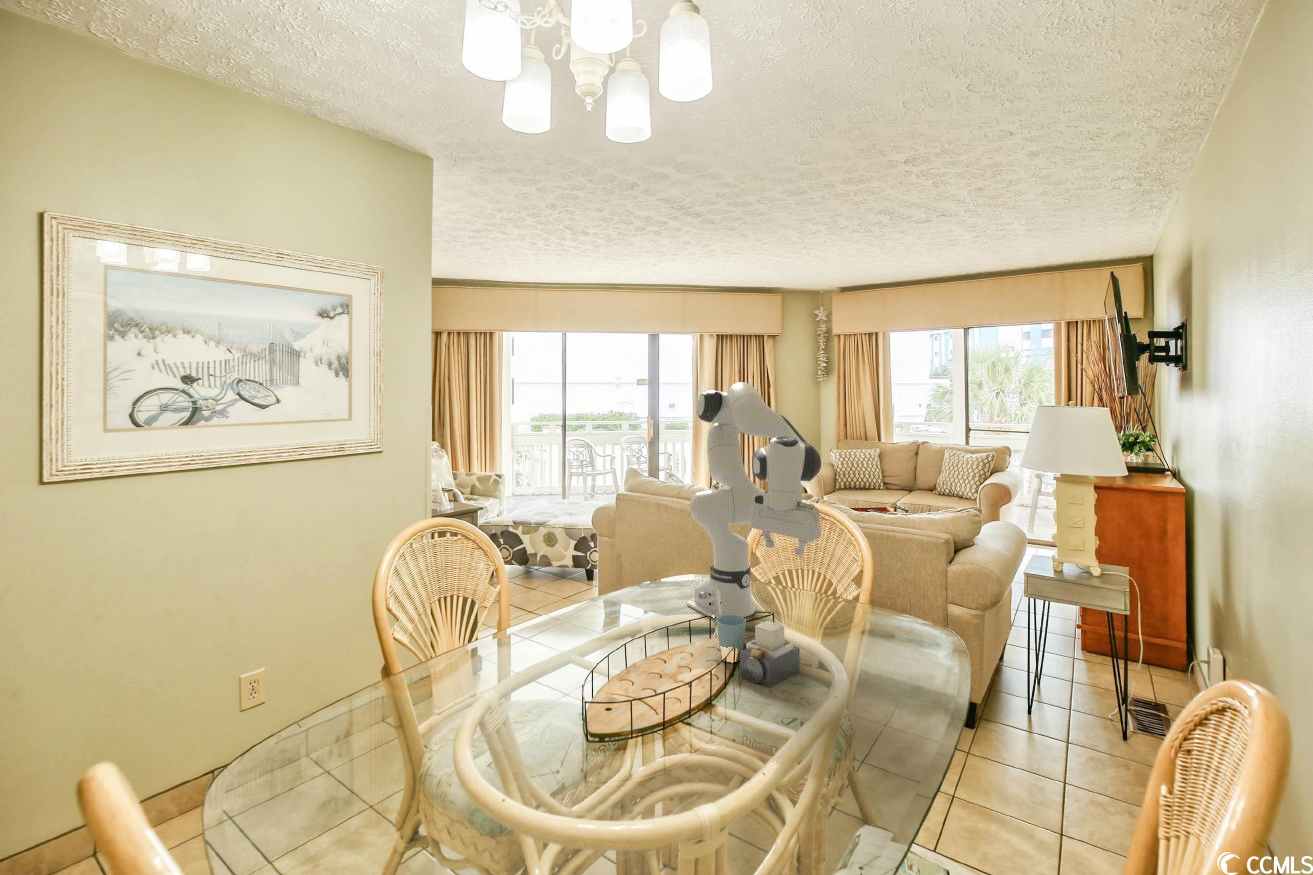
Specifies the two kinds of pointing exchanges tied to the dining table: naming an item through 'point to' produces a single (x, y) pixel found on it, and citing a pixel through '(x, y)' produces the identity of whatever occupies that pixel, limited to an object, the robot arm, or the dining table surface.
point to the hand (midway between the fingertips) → (784, 551)
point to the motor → (769, 663)
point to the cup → (731, 631)
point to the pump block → (769, 635)
